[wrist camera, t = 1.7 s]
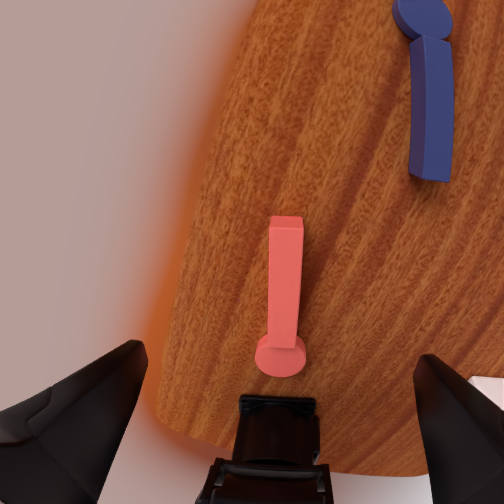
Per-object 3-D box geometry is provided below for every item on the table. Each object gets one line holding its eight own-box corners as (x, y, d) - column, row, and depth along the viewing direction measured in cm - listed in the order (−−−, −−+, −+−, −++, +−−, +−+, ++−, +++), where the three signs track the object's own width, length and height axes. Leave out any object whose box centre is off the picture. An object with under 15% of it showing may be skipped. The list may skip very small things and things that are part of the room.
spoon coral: (256, 215, 18) (251, 226, 16) (318, 216, 18) (321, 229, 16) (256, 365, 23) (253, 385, 21) (303, 367, 22) (303, 388, 20)
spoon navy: (445, 177, 16) (462, 185, 14) (394, 171, 16) (407, 178, 14) (440, 2, 11) (455, -9, 9) (388, -12, 11) (399, -26, 9)
